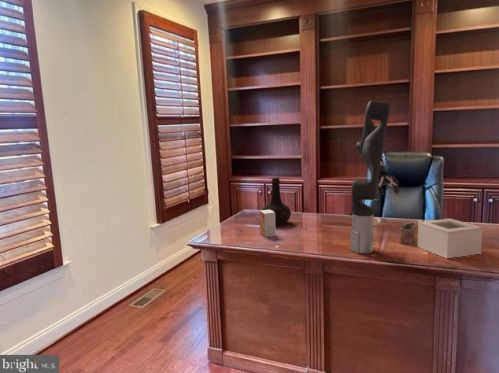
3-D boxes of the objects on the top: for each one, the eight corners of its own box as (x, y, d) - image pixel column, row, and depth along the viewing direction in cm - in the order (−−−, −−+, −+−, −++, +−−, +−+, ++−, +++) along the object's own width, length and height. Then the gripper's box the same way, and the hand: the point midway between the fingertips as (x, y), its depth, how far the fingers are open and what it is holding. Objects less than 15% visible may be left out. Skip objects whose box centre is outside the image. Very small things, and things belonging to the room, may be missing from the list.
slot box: (446, 259, 161) (448, 231, 160) (417, 247, 178) (418, 222, 177) (481, 254, 166) (482, 227, 164) (449, 242, 183) (450, 218, 181)
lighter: (402, 244, 182) (403, 224, 181) (398, 242, 186) (398, 223, 184) (416, 243, 185) (417, 222, 183) (412, 241, 188) (412, 221, 186)
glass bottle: (258, 227, 224) (256, 180, 220) (265, 219, 241) (264, 175, 237) (287, 228, 219) (286, 180, 215) (293, 220, 236) (292, 176, 232)
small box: (260, 233, 211) (259, 210, 209) (270, 232, 213) (270, 209, 211) (264, 237, 203) (264, 213, 201) (276, 235, 205) (275, 212, 203)
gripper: (368, 165, 199) (381, 190, 190) (392, 163, 203) (405, 188, 194) (363, 174, 205) (375, 198, 196) (385, 172, 209) (398, 196, 200)
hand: (390, 193), depth 195 cm, fingers open, 8 cm apart
